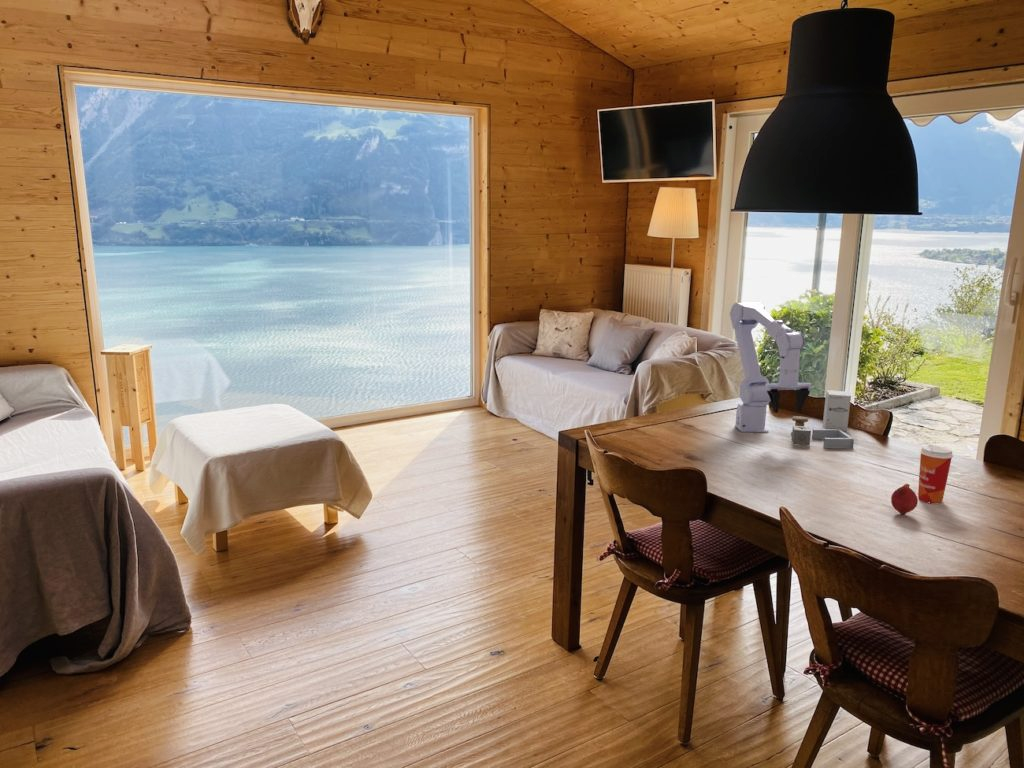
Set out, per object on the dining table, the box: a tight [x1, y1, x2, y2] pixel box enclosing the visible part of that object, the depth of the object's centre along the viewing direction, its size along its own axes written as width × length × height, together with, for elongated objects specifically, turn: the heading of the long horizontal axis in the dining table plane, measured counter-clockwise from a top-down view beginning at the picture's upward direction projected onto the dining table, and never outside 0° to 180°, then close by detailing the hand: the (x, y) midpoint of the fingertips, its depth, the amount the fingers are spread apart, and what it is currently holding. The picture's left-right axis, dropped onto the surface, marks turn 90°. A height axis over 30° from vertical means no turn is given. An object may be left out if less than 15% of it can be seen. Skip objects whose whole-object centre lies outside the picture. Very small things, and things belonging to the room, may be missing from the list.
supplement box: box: [822, 389, 852, 432], centre depth 265 cm, size 7×7×13 cm
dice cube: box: [791, 425, 812, 446], centre depth 248 cm, size 5×5×5 cm
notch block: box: [811, 428, 855, 449], centre depth 249 cm, size 9×11×3 cm
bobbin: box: [790, 415, 809, 436], centre depth 256 cm, size 5×5×6 cm
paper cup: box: [917, 444, 954, 504], centre depth 199 cm, size 8×8×14 cm
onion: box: [890, 483, 919, 515], centre depth 190 cm, size 6×6×8 cm
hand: (787, 411), depth 246 cm, fingers open, 7 cm apart
